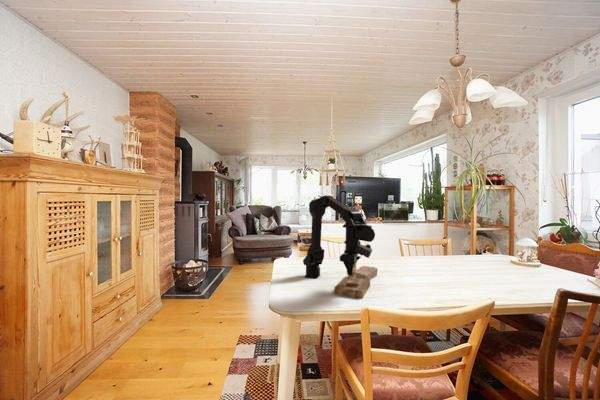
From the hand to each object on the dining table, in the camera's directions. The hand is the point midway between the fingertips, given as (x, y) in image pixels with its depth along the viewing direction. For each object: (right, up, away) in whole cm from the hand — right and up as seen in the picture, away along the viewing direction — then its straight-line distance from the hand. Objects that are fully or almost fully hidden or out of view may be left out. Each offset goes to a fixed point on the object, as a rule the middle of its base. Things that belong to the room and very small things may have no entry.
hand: (351, 274), depth 125 cm
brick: (+11, -8, +22) cm, 26 cm away
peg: (0, -2, 0) cm, 2 cm away
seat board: (+1, -8, +3) cm, 8 cm away
